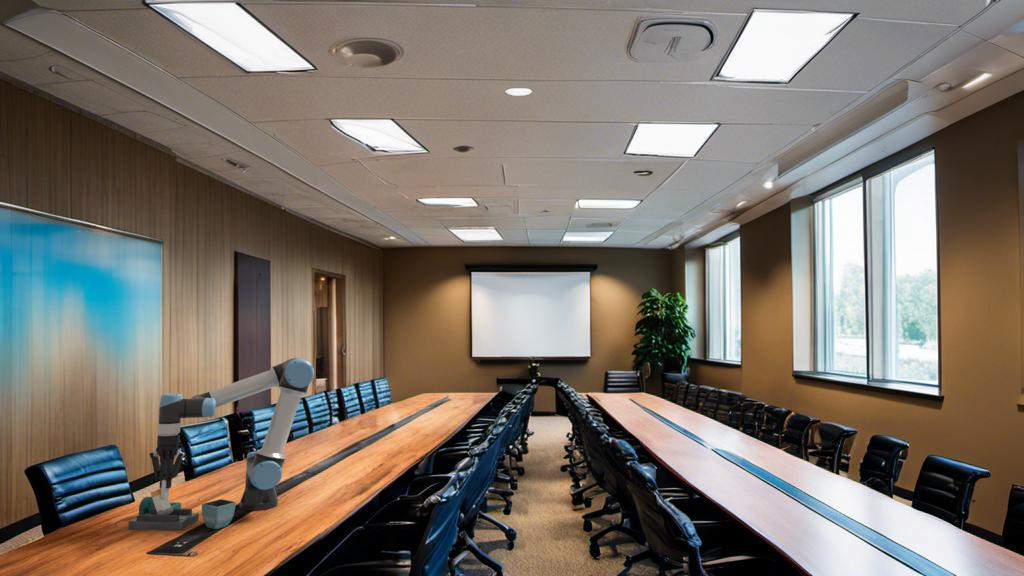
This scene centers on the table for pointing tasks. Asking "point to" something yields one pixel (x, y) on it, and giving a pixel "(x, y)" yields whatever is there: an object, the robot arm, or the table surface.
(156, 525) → the breaker panel
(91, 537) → the table surface
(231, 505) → the flower pot
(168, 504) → the breaker lever
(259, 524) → the table surface
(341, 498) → the table surface
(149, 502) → the bracket
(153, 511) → the dark grey rectangular piece
